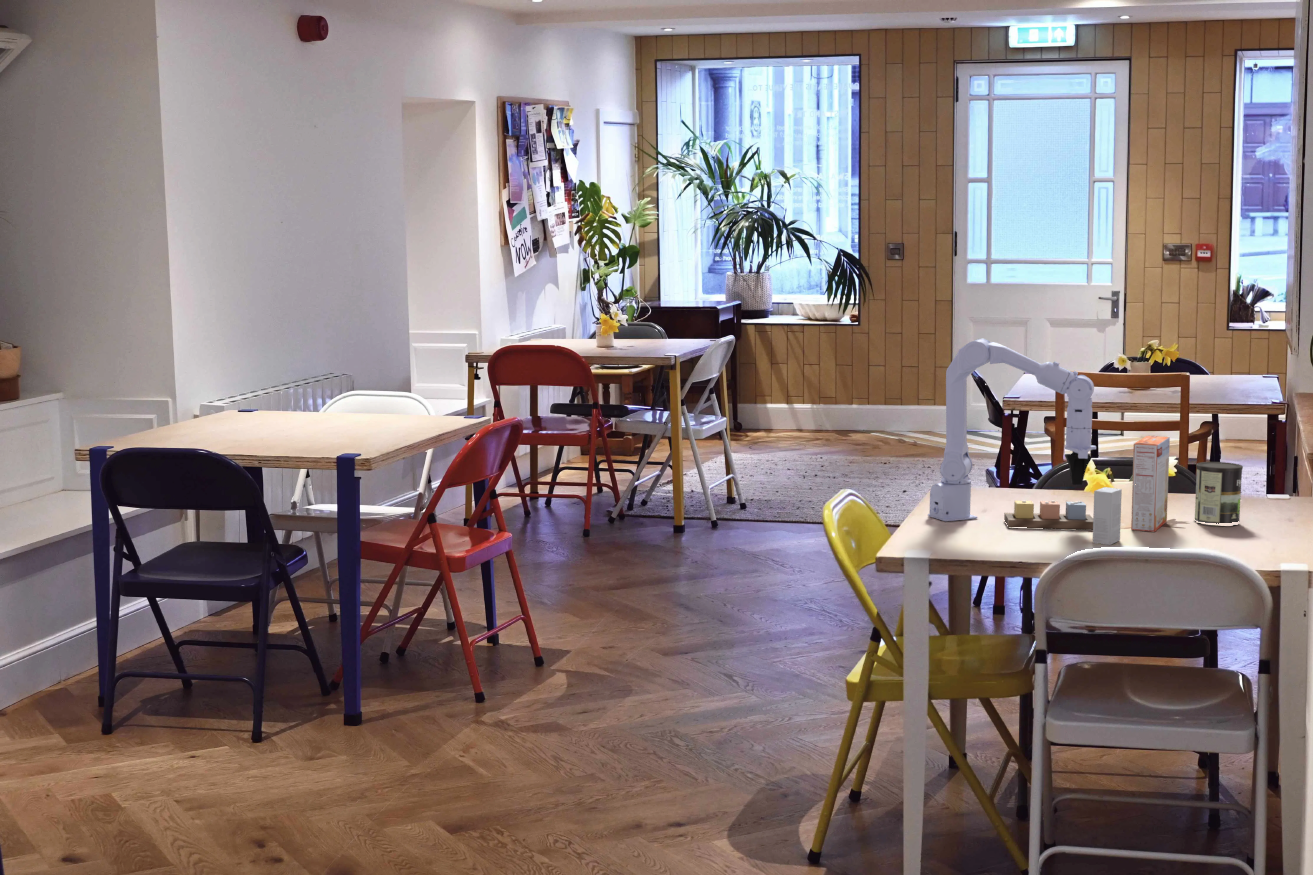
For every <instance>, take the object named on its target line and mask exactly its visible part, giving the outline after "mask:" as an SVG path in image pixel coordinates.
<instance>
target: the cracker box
mask: <svg viewBox="0 0 1313 875" xmlns="http://www.w3.org/2000/svg"><path fill="white" fill-rule="evenodd" d="M1170 437H1171V436H1160V435H1159V436H1158V435H1145V436H1144V437H1142V438H1141V439H1139V440H1138V441H1135V442H1134V443H1133V455H1132V456H1133V458H1132V462H1133V463H1132V484H1131V485H1132V486H1131V487H1132V488H1131V490H1132V492H1131V494H1132V495H1131V523H1130V528H1131V529H1130V530H1132V531H1136V532H1152V533H1156V532H1157V531H1158V530H1159V529H1161V527H1162V526H1163V525H1164V524H1165V523H1166V522H1167V521H1168V498H1169V497H1168V495H1169V474H1170V473H1169V466H1170V465H1169V464H1170V442H1171V441H1170V440H1171V439H1170ZM1135 484H1136V485H1135Z"/></svg>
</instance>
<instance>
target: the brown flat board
mask: <svg viewBox="0 0 1313 875" xmlns="http://www.w3.org/2000/svg"><path fill="white" fill-rule="evenodd" d="M1003 514H1004V515H1003V516H1004V517H1003V519H1004V520H1005V521H1004V520H1003V521H1004V523H1005V522H1006V523H1007V525H1008V527H1027V528H1043V529H1042V530H1061V529H1076V530H1075V531H1077V530H1078V531H1093V517H1092V516H1091V514H1087V513H1086V520H1080V519H1068V518H1067V517H1066V513H1060V517H1059V519H1042V518H1041V516H1040V512H1039V513H1037V512H1036V513H1035V512H1034V515H1033V518H1016V517H1015V516H1014V512H1004V513H1003ZM1006 523H1005V524H1006ZM1007 525H1006V526H1007ZM1008 527H1007V528H1008Z"/></svg>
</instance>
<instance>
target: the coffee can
mask: <svg viewBox="0 0 1313 875" xmlns="http://www.w3.org/2000/svg"><path fill="white" fill-rule="evenodd" d="M1195 467H1196V478H1195V479H1196V480H1195V483H1196V484H1195V502H1194V503H1195V504H1194V519H1195V520H1196V521H1198V522H1205V523H1216V524H1217V523H1218V524H1219V523H1232V522H1238V521H1239V522H1240V518H1241V517H1240V516H1241V495H1242V477H1243V476H1242V474H1243V469H1244V466H1243V465H1241V464H1240V463H1234V462H1233V463H1232V462H1225V461H1204V462H1203V461H1202V462H1198V463H1196V466H1195Z"/></svg>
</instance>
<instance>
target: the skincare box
mask: <svg viewBox="0 0 1313 875" xmlns="http://www.w3.org/2000/svg"><path fill="white" fill-rule="evenodd" d="M1122 495H1123V494H1122V488H1115V487H1106V486H1105V487H1104V486H1103V487H1102V488H1098V489H1096V490H1094V492H1093V517H1092V518H1093V530H1092V543H1093V542H1094V543H1093V544H1098V543H1101V544H1100V545H1105V546H1110V545H1111V546H1112V545H1113V544H1115V543H1118V542H1119V541H1120V540H1121V525H1122V524H1121V520H1122V519H1121V518H1122V516H1121V515H1122V514H1121V513H1122Z"/></svg>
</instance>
